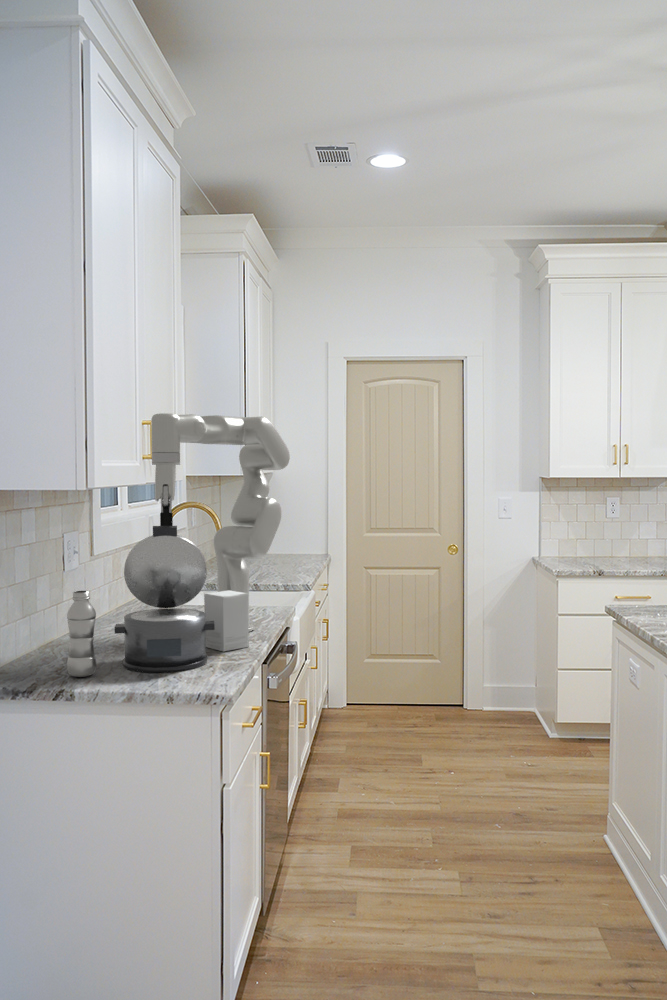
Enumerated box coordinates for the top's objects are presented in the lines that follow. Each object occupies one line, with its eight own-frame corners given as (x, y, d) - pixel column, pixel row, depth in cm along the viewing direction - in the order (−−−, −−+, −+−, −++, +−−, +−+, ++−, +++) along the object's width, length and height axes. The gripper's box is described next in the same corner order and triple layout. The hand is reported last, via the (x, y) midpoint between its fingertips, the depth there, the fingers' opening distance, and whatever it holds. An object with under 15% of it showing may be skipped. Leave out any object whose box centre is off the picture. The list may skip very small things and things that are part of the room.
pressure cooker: (119, 654, 208) (119, 608, 208) (213, 650, 213) (213, 605, 212) (111, 675, 187) (110, 624, 186) (215, 670, 191) (215, 620, 191)
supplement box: (250, 647, 217) (249, 592, 216) (223, 652, 211) (223, 596, 210) (230, 642, 223) (229, 589, 223) (203, 647, 217) (203, 592, 216)
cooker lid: (125, 609, 207) (126, 602, 210) (206, 606, 211) (206, 600, 214) (122, 528, 198) (123, 522, 202) (206, 527, 202) (206, 521, 205)
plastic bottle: (74, 672, 190) (72, 589, 189) (101, 673, 189) (100, 589, 188) (62, 679, 183) (60, 593, 183) (90, 680, 183) (89, 594, 182)
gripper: (153, 460, 220) (153, 525, 221) (150, 459, 205) (150, 529, 206) (180, 460, 221) (181, 525, 222) (179, 459, 206) (180, 529, 207)
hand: (166, 527), depth 214 cm, fingers closed
